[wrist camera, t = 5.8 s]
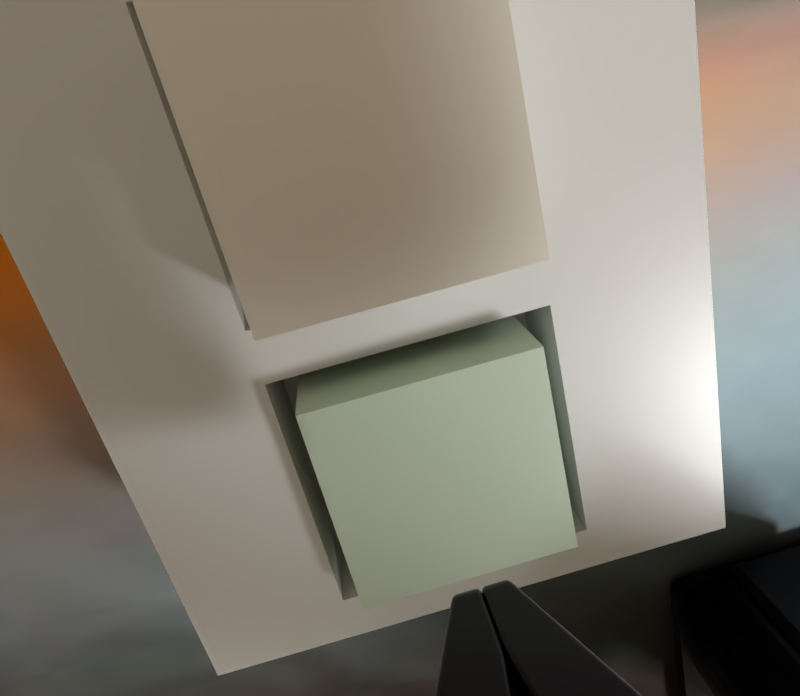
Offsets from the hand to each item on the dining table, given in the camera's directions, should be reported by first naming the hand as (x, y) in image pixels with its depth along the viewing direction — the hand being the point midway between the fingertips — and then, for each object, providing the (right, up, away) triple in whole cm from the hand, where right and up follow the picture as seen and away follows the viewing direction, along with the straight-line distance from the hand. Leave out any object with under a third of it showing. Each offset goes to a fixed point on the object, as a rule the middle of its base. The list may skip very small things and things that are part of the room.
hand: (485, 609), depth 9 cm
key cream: (-2, +7, +2) cm, 8 cm away
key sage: (-1, +2, +5) cm, 6 cm away
